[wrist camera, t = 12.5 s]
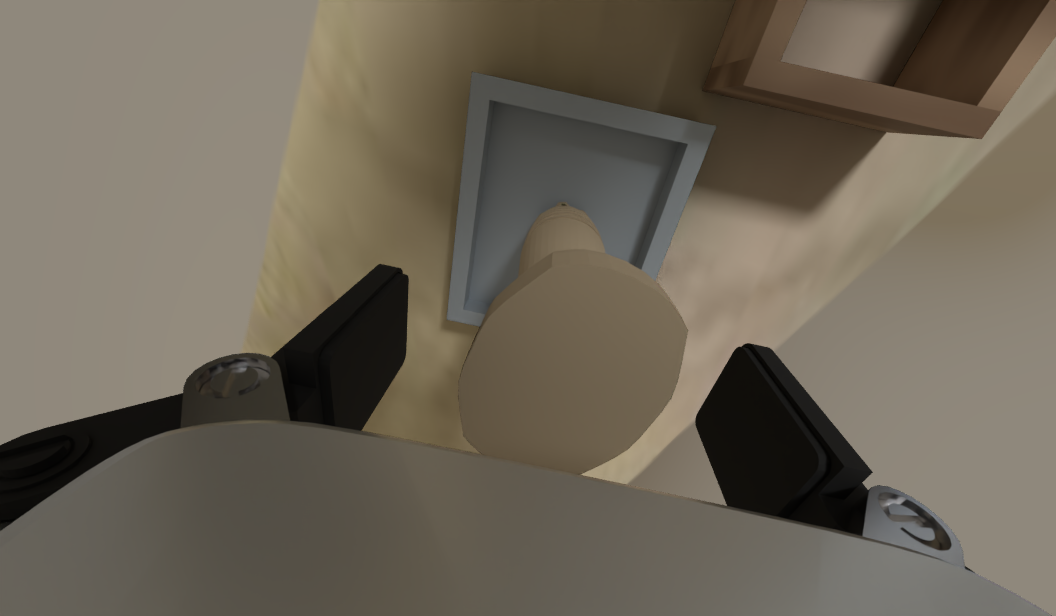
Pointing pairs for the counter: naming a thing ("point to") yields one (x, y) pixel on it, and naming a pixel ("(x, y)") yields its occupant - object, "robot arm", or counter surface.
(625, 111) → the tray
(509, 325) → the handle
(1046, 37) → the holder
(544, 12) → the counter surface
